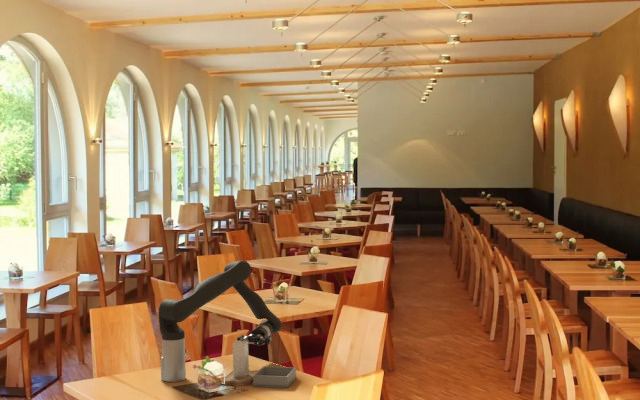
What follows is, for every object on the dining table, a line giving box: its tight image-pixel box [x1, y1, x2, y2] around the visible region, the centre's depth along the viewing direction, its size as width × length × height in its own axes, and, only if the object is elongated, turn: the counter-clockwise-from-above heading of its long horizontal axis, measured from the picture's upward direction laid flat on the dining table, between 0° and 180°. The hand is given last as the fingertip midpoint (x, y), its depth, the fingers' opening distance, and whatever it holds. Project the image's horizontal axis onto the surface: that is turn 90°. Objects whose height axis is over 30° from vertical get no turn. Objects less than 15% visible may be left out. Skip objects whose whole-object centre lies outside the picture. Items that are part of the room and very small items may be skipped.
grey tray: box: [252, 365, 297, 389], centre depth 310 cm, size 14×14×4 cm
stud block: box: [224, 370, 259, 387], centre depth 316 cm, size 12×16×6 cm
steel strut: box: [232, 340, 250, 378], centre depth 315 cm, size 5×5×14 cm
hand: (249, 343), depth 327 cm, fingers open, 8 cm apart
